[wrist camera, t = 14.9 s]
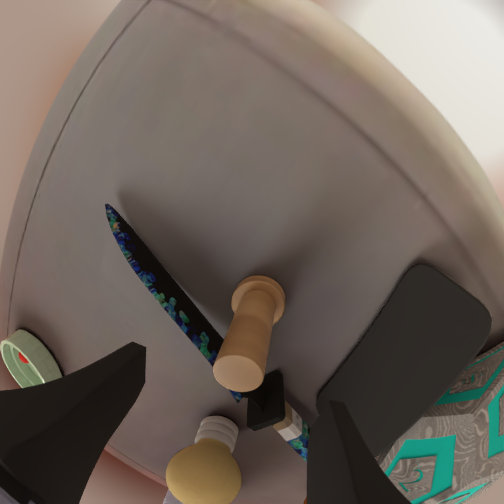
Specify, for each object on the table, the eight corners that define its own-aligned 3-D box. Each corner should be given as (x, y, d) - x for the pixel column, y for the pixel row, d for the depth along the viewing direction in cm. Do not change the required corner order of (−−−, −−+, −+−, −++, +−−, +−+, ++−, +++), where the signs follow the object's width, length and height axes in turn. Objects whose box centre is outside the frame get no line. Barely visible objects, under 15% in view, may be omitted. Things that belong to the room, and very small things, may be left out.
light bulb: (191, 433, 26) (162, 506, 17) (188, 396, 24) (150, 480, 15) (250, 445, 26) (232, 523, 16) (256, 410, 24) (236, 502, 14)
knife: (345, 451, 23) (346, 485, 18) (319, 460, 23) (316, 493, 19) (149, 180, 21) (113, 180, 16) (124, 204, 22) (87, 208, 17)
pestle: (276, 326, 21) (264, 408, 13) (228, 312, 21) (195, 387, 13) (292, 283, 19) (288, 357, 12) (240, 268, 20) (207, 333, 12)
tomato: (36, 358, 27) (25, 352, 27) (32, 348, 27) (21, 342, 26) (29, 368, 26) (18, 362, 26) (25, 359, 25) (14, 352, 25)
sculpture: (490, 323, 25) (309, 498, 23) (499, 247, 19) (244, 494, 16) (560, 371, 14) (363, 571, 12) (603, 303, 8) (317, 612, 5)
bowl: (71, 399, 29) (57, 415, 26) (24, 368, 30) (11, 380, 26) (58, 348, 26) (40, 364, 23) (10, 316, 26) (-7, 328, 23)
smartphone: (308, 404, 22) (415, 253, 17) (315, 401, 22) (419, 254, 18) (361, 468, 16) (501, 318, 11) (366, 463, 17) (502, 317, 12)
